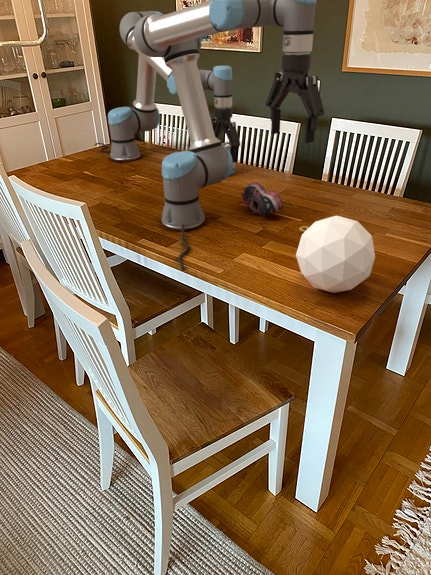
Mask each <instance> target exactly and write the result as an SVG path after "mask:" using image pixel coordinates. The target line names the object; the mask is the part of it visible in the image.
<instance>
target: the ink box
mask: <svg viewBox="0 0 431 575" xmlns="http://www.w3.org/2000/svg"><path fill="white" fill-rule="evenodd" d="M221 144H222V146H223V147H226V148H227V149H228V151H229V152H230V147H231V144H230V142H229V141H226V142H221ZM233 145H234V144H233ZM235 174H236V162H234V163H233V167H232V171H231V173H230V175H229V176H231V175H235Z"/></svg>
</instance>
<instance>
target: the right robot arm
mask: <svg viewBox="0 0 431 575" xmlns="http://www.w3.org/2000/svg"><path fill="white" fill-rule="evenodd" d="M317 3H318V2H317V0H206V1H203V2H199V3H197V4H194V5H190V6H187V7H185V8H182V9H179V10H176V11H173V12H169V13H166V14H165V13H164V14H163V13H162V14H161V15H158V14H153V15H148V16H144V17H142V18H141V19H140V20H139V21H138V22H137V23H136V25H135V28H134V41H135V44H136V46H137V47H138V49H139V50H140V51H141V52H142V53H143V54H144V55H146V56H149V57H154V58H158V57H163V58H164V62H165V65H166V66H167V67H168V68H170V69H171V70H172V74H173V77H174V81H175V85H176V89H177V92H178V95H177V96H178V99H179V103H180V108H181V110H182V115H183V118H184V123H185V126H186V129H187V133H188V137H189V141H190V145H189V148H188V150H182V151H175V152H173V153H170V154H168V155H166V156H165V157H164V158H163V159H162V162H161V176H162V184H163V194H164V204H163V209H162V213H161V219H160V220H161V225H162V227H163V228H165V229H167V230H170V231H175V232H176V231H177V232H181V242H182V244H183V245H184V246H185V250H183V251H182V252H181V253H180V254H179V256H178V257H177V262H178V263H179V264H180V268H181V272H185V266H184V262H183V261H182V260H181V258H182V257H183V256H185V255H186V254H187V253H188V251H189V245H188V243H187V242H186V241H185V231H186V232H187V231H192V230H195V229H198V228H201V227H202V226H203V225H204V224H205V223H206V216H205V212H204V210H203V208H202V204H201V202H200V196H199V190H200V189H203V188H206V187H208V186H212V185H214V184H219V183H221V182H222V181H225V180H226V179H227V178H229V177H230V176H231V175H230V173H231V171H232V167H233V160H232V156H231V153H230V152H229V151H228V149H227V148H226V147H223V146H222V144H221V143H222V141H221V139H219V138H218V139H217V138H216V137H215V135H214V131H213V127H212V118H211V116H210V111H209V106H208V102H207V99H206V95H205V92H204V91H205V90H204V91H203V87H202V83H201V79H200V75H199V71H198V70H199V67H198V60H199V59H200V57H201V56H200V50H201V48H202V45H203V44H202V42H203V38H205V37H208V36H213V35H217V34H220V33H225V32H230V31H234V30H240V29H250V28H264V27H266V28H267V27H282V28H283V31H282V32H283V33H282V34H283V35H282V52H283V54H282V55H281V70H282V71H275V72H274V77H273V83H272V85H271V87H270V91H269V94H268V96H267V98H266V101H265V106H266V107H268V108H269V110H270V121H271V124H270V125H271V127H270V134H271V135H277V134H280V132H281V116H282V115H281V114H282V109H281V105H282V103H283V102H284V101H285V99H286V98H287V97H288V95H289V93H293V94H297V96H299V98H300V100H301V102H302V104H303V106H304V109H305V111H306V113H307V117H306V120H305V130H304V144H310V143H314V140H315V131H316V130H317V124H318V118H319V117H322V116H325V108H324V106H323V101H322V97H321V93H320V88H319V77H318V75H310V76H309V71H310V70H311V66H312V56H313V55H312V54H311V52H312V51H313V43H314V26H315V15H316V8H317Z"/></svg>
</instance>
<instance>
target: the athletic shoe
mask: <svg viewBox="0 0 431 575" xmlns="http://www.w3.org/2000/svg"><path fill="white" fill-rule="evenodd" d="M241 197H242V199H243V201H238V203H239V204H241V205H245V206H246V207H247V208H248V210H249V211H250V210H251V213H252V214H255V215H260V217H266V216H267V215H270V214H274V213H275V212H279V211H282V210H283V209H284V205H283V201H282V198H281V196H280V195H279V194H278V192H277V191H274V190H269V191H267V190H266V189H265V187H264V186H263V185H262V184H261V183H258V182H251V183H249V184H247V186H246V187H245V188H244V190H243V191H242V192H241Z"/></svg>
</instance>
